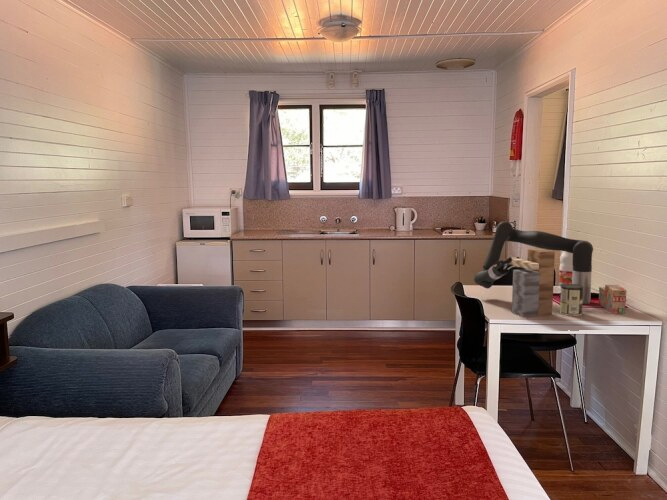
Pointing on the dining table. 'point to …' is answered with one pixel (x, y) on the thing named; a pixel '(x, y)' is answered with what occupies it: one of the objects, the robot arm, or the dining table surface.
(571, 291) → the coffee can
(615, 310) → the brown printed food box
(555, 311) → the dining table surface
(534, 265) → the birch bar
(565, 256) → the fruit juice
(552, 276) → the stepped stand
